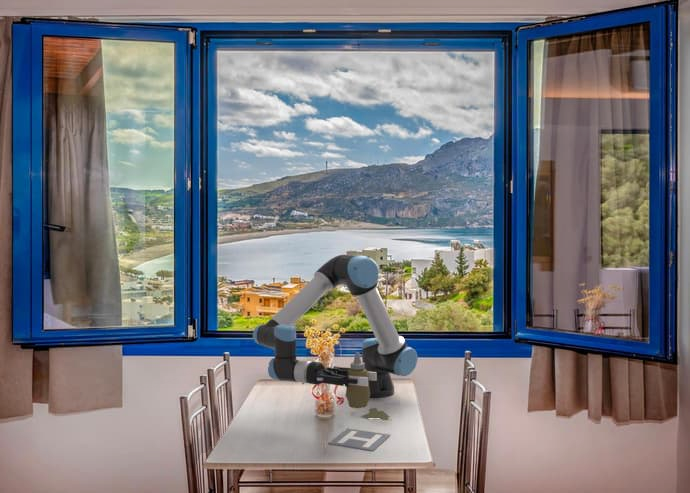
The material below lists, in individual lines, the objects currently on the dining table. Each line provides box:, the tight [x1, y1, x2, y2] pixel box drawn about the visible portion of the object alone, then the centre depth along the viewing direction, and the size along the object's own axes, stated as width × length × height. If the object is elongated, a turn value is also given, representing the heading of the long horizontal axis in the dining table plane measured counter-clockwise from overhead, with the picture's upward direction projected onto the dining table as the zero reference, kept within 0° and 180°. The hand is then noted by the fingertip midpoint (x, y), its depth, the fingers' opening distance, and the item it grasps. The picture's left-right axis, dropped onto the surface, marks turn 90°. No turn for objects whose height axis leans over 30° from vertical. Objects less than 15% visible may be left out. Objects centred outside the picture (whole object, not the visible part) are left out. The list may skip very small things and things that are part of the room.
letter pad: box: [328, 427, 391, 452], centre depth 200 cm, size 15×16×1 cm
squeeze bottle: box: [345, 351, 371, 409], centre depth 199 cm, size 8×8×18 cm
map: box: [361, 407, 392, 421], centre depth 222 cm, size 11×18×1 cm, turn 15°
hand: (371, 379), depth 197 cm, fingers closed on squeeze bottle, 6 cm apart
